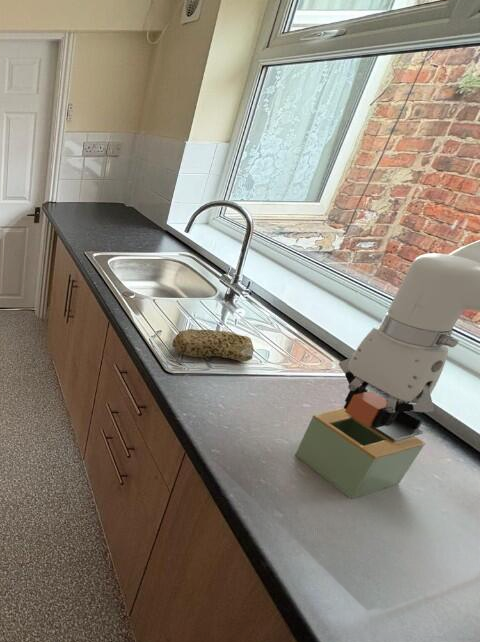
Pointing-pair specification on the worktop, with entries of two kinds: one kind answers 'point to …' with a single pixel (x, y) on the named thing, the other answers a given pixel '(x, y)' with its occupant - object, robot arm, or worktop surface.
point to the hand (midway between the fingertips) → (365, 415)
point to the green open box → (355, 453)
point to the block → (365, 407)
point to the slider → (401, 427)
